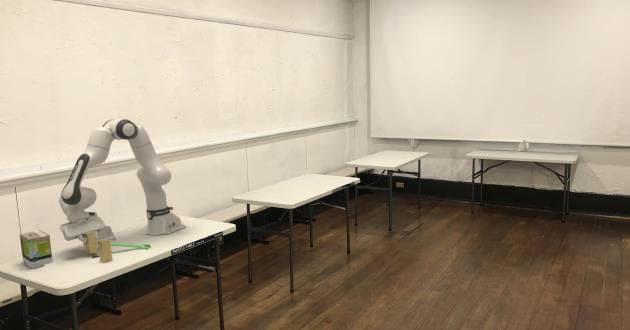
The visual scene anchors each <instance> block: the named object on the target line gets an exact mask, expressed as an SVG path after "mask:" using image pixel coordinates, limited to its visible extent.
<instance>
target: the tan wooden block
mask: <svg viewBox="0 0 630 330" xmlns="http://www.w3.org/2000/svg"><path fill="white" fill-rule="evenodd" d="M110 243H111V240H108V239H103V240H100V241H98V243H97V248H98V253H99V256H100V257H99V261H100V262H102V263H108V262H111V261H113V256H112V255H113V254H112V248H111V247H112V245H110Z"/></svg>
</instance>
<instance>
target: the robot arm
mask: <svg viewBox="0 0 630 330" xmlns="http://www.w3.org/2000/svg"><path fill="white" fill-rule="evenodd" d="M115 140H117V141H121V140H124V141H125V140H126V141H127V142H128V143H129V146H130V148H131V151H132V153H133V155H134V157H135V161H137V162H138V163H139V164H140V165H141V166H139V167H138V168H137V171H136V177H137V179H138V180H139V181H140V184H141V187H142V189H143V192H144V196H145V201H146V202H145V203H146V218H147V226H146V227H147V228H146V234H147V235H149V236H160V235H170V234H172V233H176V232H177V231H181V230H183V229H185V228H186V227H187V226H186V224H184V223H182V220H181V218H180V217H179V216H178V215H177V214H176V213H175V214H174V213H173V212H171V211H173V210H174V206H168V203H167V194H166V191H165V190H164V188H163V187H162V186H165V185H168V184H169V183H170V181H171V179H172V172H171V171H170V169H168V168H167V166H165V164H164V163H163V161H162V160H161V159H160V157H159V156H158V154H157V153H156V150H155V148H154V146H153V143H152V141H151V138H150V136H149V134H148V133H147V129H145V127H144V126H143V125H141V124H135V123H134V122H133V121H131V120H130V119H123V118H115V119H108V120H107V121H105V122H104V123H103V125H102V126H97V127H95V128H94V129H93V130H92V132H91V133H90V136H89V139H88V142H87V144H86V147H85V150H84V151H83V153H82V154H80V155H79V156H78V158H77V160H76V162H75V164H74V167H73V168H72V171H71V173H70V175H69V178H68V180H67V182H66V184H65V185H64V187H62V188H63V189H62V190H61V194H60V196H59V198H58V204H59V206H60V208H61V211H62V212H63V214H64V215H65V216H66V218H67V221H68V222H65V223H62V224H61V225H60V226H59V230H60V231H61V233H62V234H63V239H64V240H65V241H67V242H69V241H70V242H71V241H74V240H77V239H78V240H79V242H81V243H82V244H83V243H84V244H86V243H87V242H88V241H87V239H84V238H82V237H84V233H86V232H90V231H94V232H95V234H96V240H98V237H97V233H98V232H101V231H104V229H105V227H106V226H107V225H106V224H105V223H106V222H104V220H103V219H102V218H101V217H100V216H98V212H97V211H85V210H86V209H89V208H90V207H91V206H93V205H94V204H95V203H96V201H97V193H96V190H95V189H93V188H90V187H86V186H82V182H83V180H84V178H85V175H86V172H87V171H88V170H89V169H90V168H92V167H94V166H99V165H101V164H103V163H105V162H106V160H107V159H108V157H109V155H110V150H111V147H112V146H111V145H112V143H113V142H114V141H115Z"/></svg>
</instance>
